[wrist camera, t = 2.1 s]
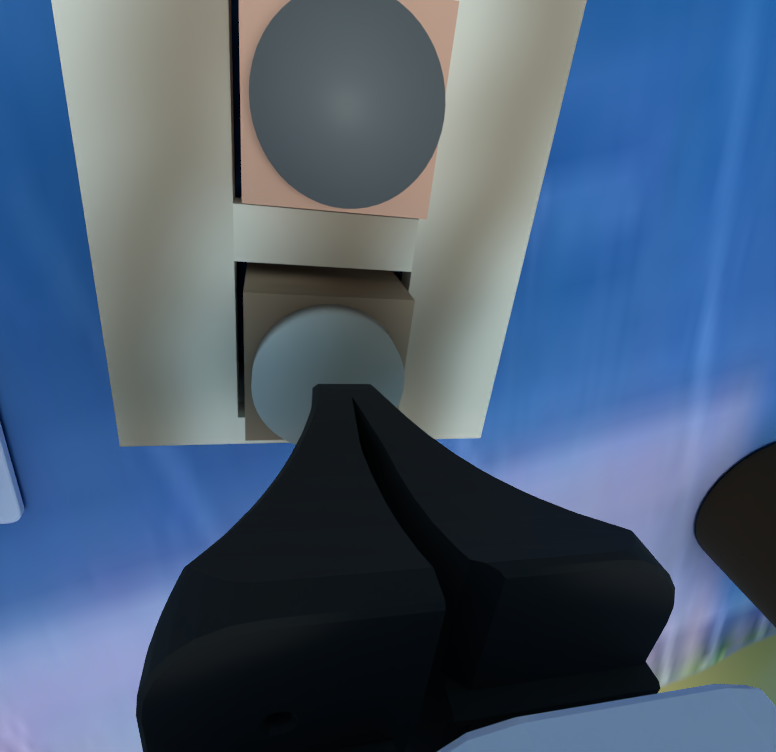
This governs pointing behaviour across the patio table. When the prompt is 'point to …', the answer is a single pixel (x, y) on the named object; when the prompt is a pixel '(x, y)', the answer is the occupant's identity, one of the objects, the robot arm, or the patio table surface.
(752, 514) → the olive oil
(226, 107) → the grey square block
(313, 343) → the box with round disc
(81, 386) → the patio table surface
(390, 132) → the beige grey-dot cube
